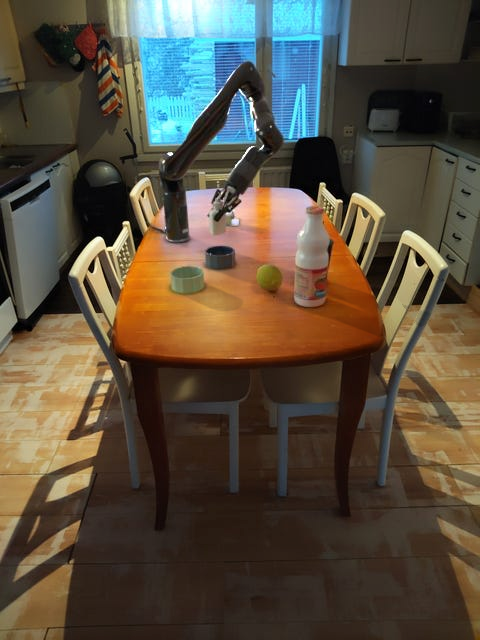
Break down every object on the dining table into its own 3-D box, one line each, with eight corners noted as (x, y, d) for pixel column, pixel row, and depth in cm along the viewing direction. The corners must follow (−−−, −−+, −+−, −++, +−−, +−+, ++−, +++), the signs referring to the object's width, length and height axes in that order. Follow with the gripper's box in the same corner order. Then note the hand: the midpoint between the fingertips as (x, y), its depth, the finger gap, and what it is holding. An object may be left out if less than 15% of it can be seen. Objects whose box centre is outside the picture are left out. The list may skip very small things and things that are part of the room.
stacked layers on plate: (238, 225, 203) (237, 213, 200) (217, 225, 203) (217, 213, 200) (238, 218, 212) (238, 207, 209) (219, 219, 212) (218, 207, 209)
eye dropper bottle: (209, 231, 160) (207, 197, 154) (225, 230, 161) (224, 196, 155) (210, 236, 156) (208, 200, 150) (227, 234, 157) (225, 199, 151)
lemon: (285, 295, 141) (286, 271, 138) (260, 297, 140) (260, 273, 136) (277, 280, 151) (277, 258, 147) (253, 283, 150) (253, 260, 146)
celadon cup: (166, 285, 149) (164, 271, 147) (193, 277, 155) (192, 263, 152) (182, 296, 142) (181, 281, 140) (210, 287, 147) (209, 273, 145)
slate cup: (200, 263, 166) (199, 250, 163) (223, 256, 171) (223, 243, 168) (216, 272, 158) (216, 258, 156) (240, 264, 164) (240, 251, 161)
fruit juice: (297, 292, 143) (301, 202, 129) (327, 295, 140) (334, 204, 127) (290, 305, 135) (294, 211, 122) (322, 309, 133) (330, 214, 119)
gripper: (260, 187, 152) (229, 230, 152) (237, 180, 162) (209, 220, 163) (246, 173, 147) (215, 217, 147) (224, 166, 157) (195, 207, 158)
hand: (212, 218), depth 155 cm, fingers closed on eye dropper bottle, 3 cm apart
